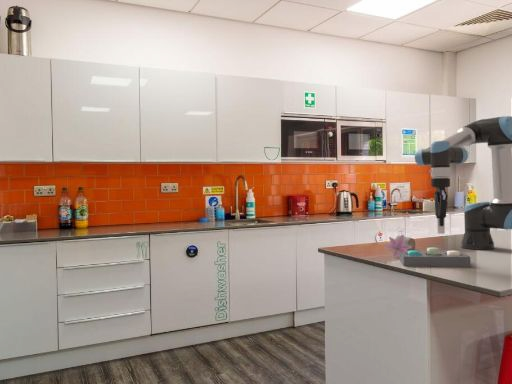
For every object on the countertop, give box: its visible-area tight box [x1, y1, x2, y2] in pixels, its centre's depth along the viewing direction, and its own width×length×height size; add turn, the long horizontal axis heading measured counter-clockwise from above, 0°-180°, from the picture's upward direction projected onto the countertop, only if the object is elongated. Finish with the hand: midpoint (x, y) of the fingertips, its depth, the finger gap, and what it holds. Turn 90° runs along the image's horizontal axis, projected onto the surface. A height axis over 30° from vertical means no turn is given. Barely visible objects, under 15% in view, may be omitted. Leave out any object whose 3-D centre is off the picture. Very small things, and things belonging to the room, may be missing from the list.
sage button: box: [426, 246, 441, 255], centre depth 186 cm, size 5×5×4 cm
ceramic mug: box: [394, 235, 416, 251], centre depth 219 cm, size 11×8×8 cm
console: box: [399, 251, 471, 268], centre depth 186 cm, size 26×12×4 cm, turn 79°
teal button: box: [408, 249, 421, 255], centre depth 187 cm, size 5×5×4 cm
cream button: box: [446, 250, 461, 256], centre depth 184 cm, size 5×5×4 cm
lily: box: [383, 234, 412, 259], centre depth 204 cm, size 12×12×10 cm
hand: (440, 233), depth 185 cm, fingers closed
